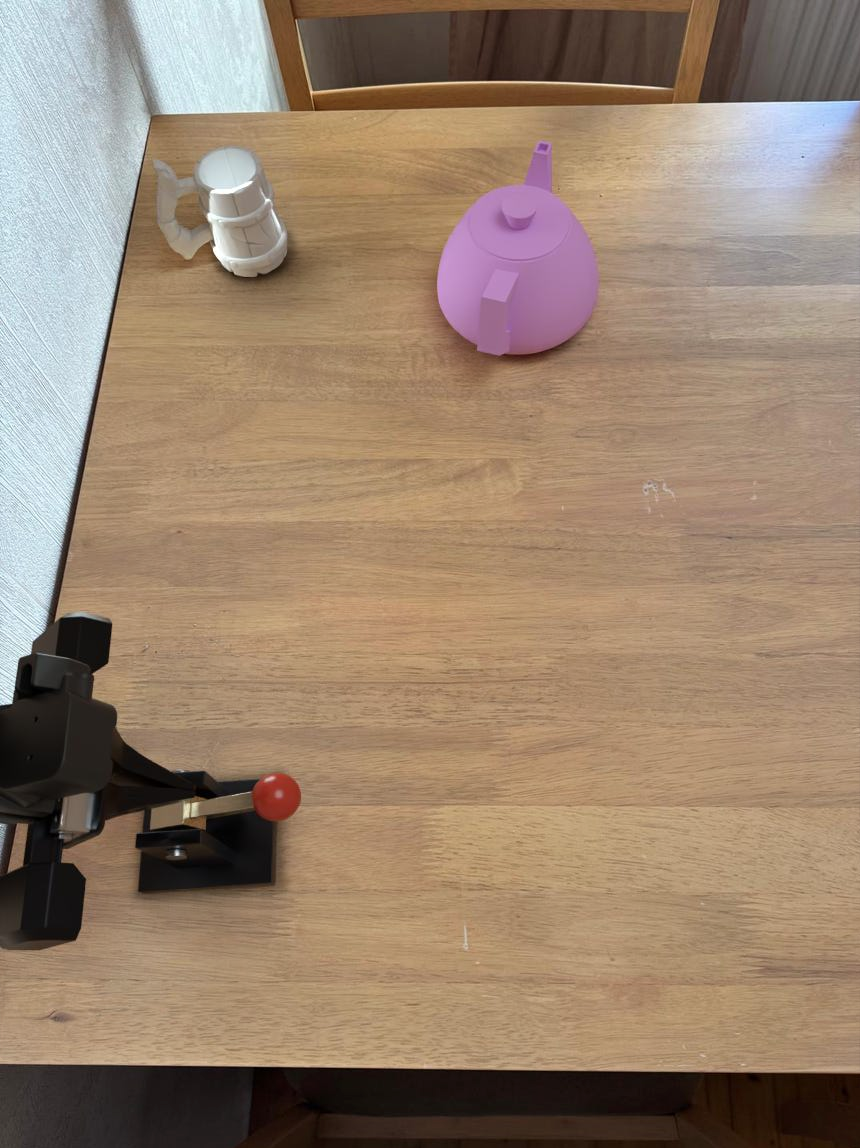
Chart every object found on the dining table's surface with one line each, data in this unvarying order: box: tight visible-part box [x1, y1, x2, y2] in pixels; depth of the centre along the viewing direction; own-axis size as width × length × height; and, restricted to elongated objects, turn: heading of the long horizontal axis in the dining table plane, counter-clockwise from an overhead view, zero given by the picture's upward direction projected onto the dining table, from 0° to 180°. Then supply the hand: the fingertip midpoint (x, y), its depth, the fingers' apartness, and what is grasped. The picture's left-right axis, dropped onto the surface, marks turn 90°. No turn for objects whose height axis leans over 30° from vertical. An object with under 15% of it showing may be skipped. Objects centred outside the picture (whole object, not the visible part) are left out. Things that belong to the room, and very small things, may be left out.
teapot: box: [436, 139, 600, 357], centre depth 85 cm, size 22×16×12 cm
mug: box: [151, 144, 289, 278], centre depth 88 cm, size 8×12×12 cm, turn 107°
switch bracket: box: [134, 769, 278, 895], centre depth 66 cm, size 10×8×10 cm
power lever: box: [150, 772, 302, 832], centre depth 62 cm, size 11×3×3 cm, turn 94°
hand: (192, 793), depth 58 cm, fingers closed
